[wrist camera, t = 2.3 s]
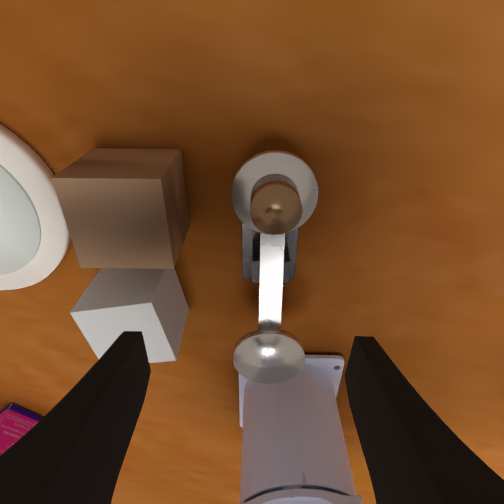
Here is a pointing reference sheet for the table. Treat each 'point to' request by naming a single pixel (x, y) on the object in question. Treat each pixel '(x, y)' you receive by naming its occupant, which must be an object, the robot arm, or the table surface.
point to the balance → (271, 256)
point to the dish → (28, 216)
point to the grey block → (134, 310)
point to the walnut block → (125, 207)
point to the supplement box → (15, 425)
